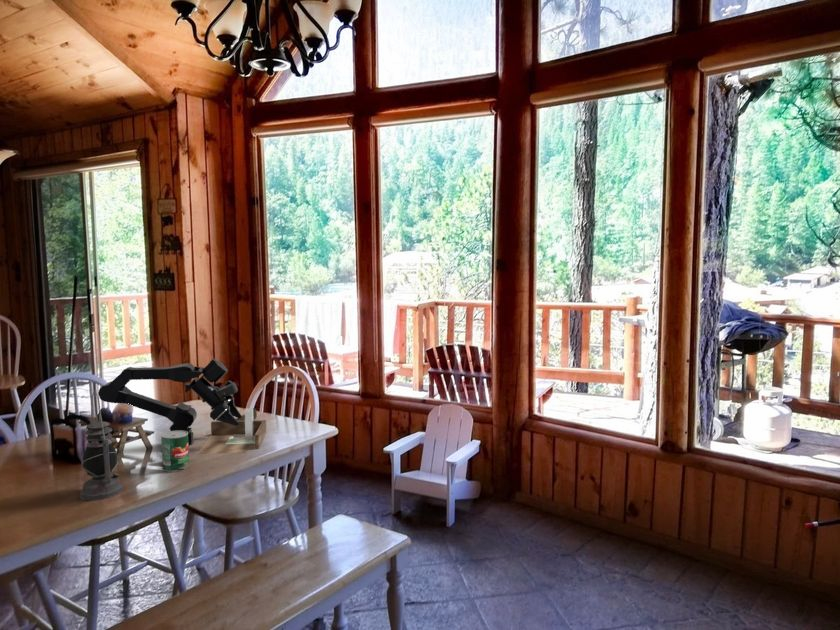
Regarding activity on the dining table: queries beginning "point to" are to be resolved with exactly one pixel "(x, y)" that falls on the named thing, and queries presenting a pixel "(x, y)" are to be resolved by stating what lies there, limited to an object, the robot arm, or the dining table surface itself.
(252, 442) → the pad
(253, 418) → the hand tool
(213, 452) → the box
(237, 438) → the bracket
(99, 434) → the lantern
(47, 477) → the dining table surface
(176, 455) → the canned tomato
